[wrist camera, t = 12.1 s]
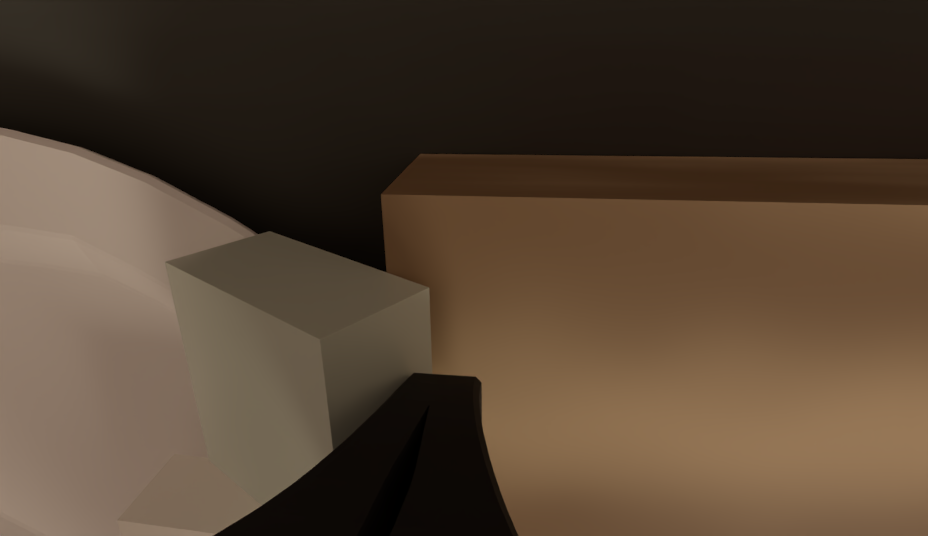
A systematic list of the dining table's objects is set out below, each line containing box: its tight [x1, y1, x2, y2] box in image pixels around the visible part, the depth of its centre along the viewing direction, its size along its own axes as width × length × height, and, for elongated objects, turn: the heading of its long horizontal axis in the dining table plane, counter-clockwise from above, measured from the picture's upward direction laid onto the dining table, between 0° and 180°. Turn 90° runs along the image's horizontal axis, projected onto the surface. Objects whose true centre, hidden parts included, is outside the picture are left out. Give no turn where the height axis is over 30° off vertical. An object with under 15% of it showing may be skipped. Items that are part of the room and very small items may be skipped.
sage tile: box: [165, 231, 432, 505], centre depth 12 cm, size 5×5×2 cm
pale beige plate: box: [0, 128, 258, 536], centre depth 18 cm, size 19×19×2 cm
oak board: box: [381, 154, 928, 536], centre depth 14 cm, size 16×14×4 cm
